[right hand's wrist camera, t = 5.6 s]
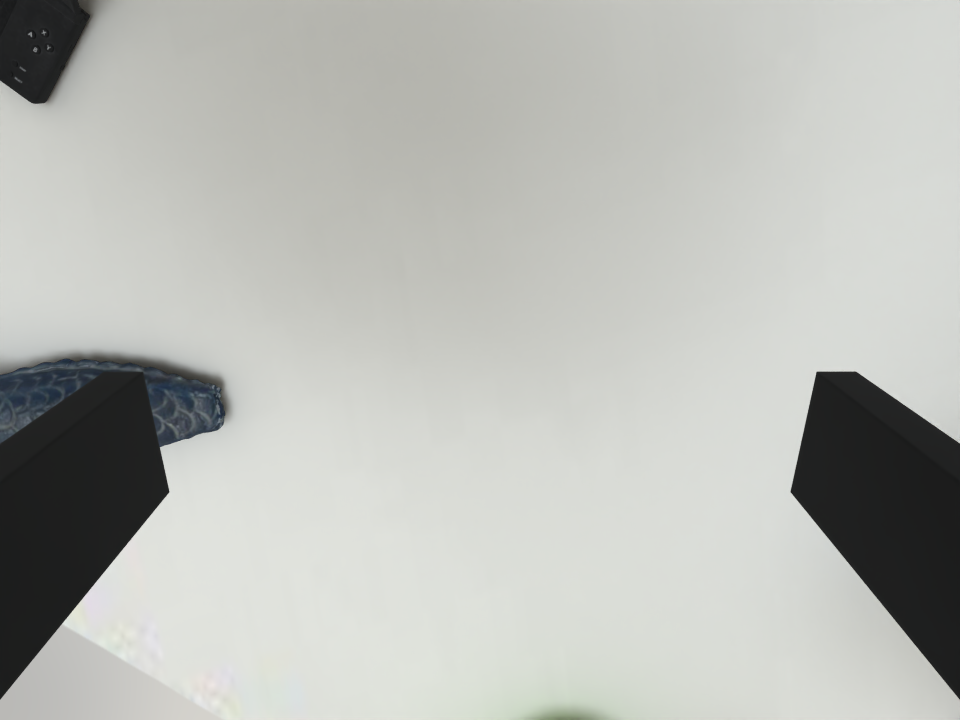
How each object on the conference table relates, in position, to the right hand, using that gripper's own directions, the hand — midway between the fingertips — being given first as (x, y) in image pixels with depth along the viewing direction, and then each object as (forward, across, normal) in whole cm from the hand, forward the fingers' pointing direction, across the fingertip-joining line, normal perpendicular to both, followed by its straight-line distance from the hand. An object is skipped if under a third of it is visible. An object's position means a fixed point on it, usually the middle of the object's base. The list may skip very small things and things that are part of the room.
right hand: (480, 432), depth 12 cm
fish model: (+28, -28, -13) cm, 41 cm away
